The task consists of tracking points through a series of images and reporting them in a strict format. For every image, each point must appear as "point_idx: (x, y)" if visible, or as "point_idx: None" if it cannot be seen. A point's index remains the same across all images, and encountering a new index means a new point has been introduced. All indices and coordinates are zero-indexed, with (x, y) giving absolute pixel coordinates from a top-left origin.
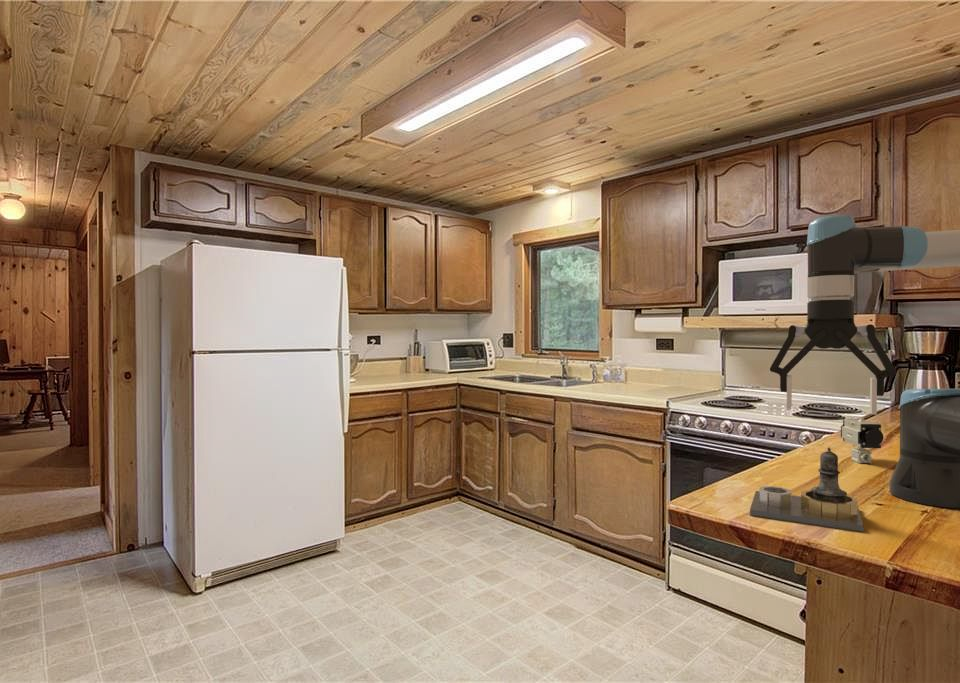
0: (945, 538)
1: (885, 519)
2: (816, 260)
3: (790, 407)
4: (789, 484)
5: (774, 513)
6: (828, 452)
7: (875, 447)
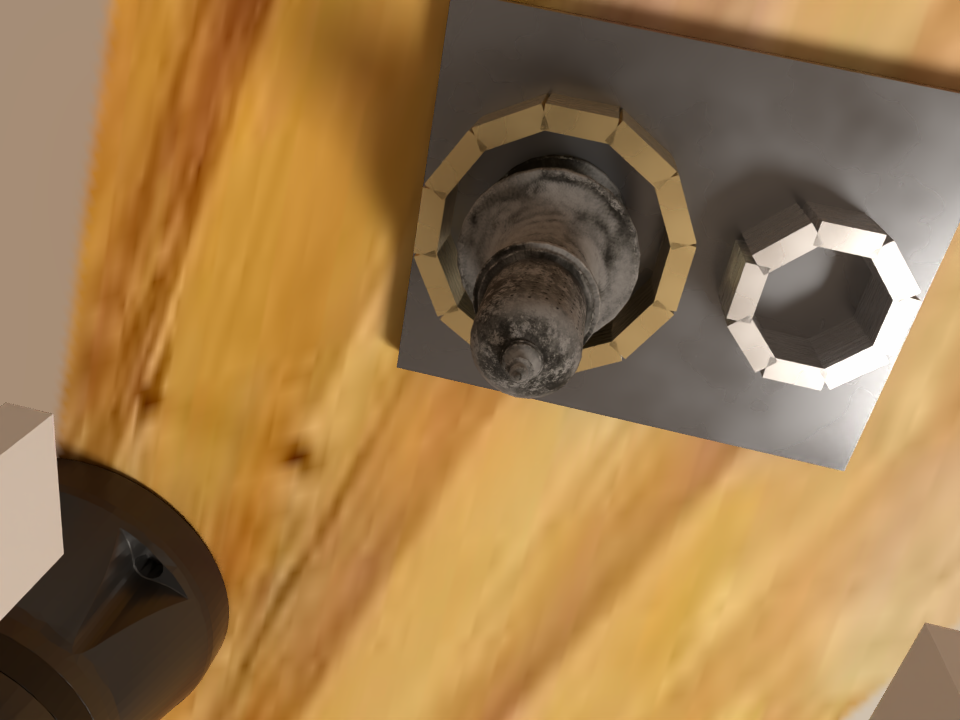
0: (128, 27)
1: (315, 241)
2: None
3: (943, 650)
4: (606, 661)
5: (877, 76)
6: (529, 346)
7: None
